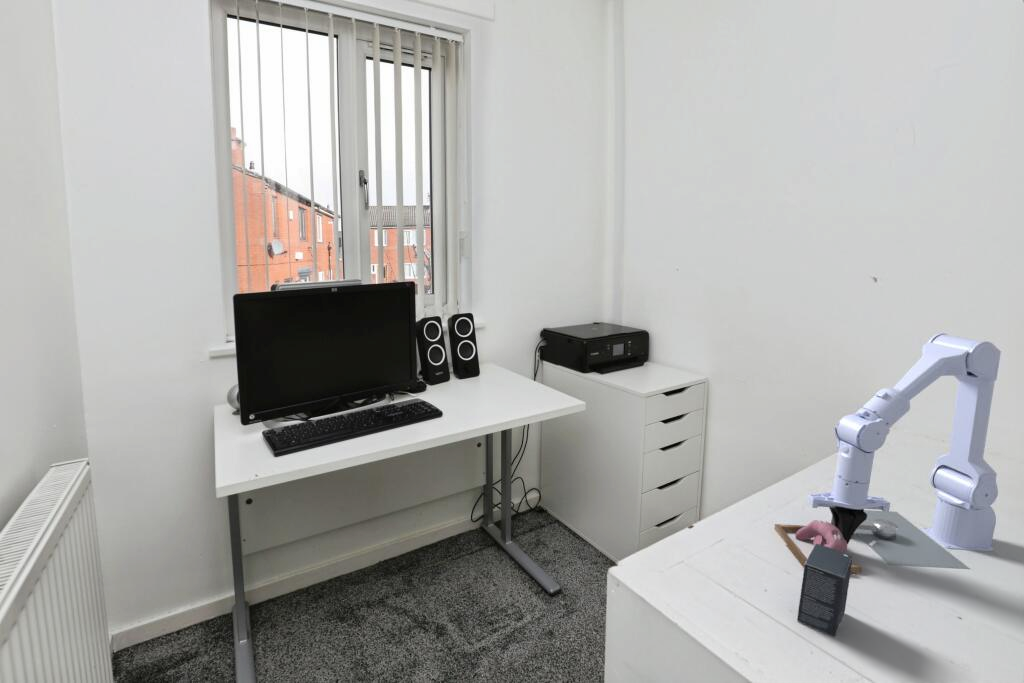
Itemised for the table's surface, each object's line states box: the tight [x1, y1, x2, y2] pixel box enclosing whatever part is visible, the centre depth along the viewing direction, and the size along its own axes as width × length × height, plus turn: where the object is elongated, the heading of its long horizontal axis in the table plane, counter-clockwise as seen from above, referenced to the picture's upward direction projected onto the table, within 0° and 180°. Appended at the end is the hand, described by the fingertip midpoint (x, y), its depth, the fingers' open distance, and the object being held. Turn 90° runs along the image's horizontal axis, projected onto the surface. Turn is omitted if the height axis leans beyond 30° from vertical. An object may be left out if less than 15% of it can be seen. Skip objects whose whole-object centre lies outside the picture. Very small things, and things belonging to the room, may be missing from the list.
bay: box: [774, 523, 863, 576], centre depth 110 cm, size 10×15×2 cm
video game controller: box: [794, 518, 848, 553], centre depth 109 cm, size 10×5×7 cm, turn 178°
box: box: [796, 544, 853, 637], centre depth 90 cm, size 8×6×11 cm
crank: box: [830, 515, 898, 540], centre depth 116 cm, size 13×4×5 cm, turn 84°
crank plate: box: [828, 507, 971, 570], centre depth 116 cm, size 15×22×1 cm
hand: (842, 541), depth 109 cm, fingers closed
